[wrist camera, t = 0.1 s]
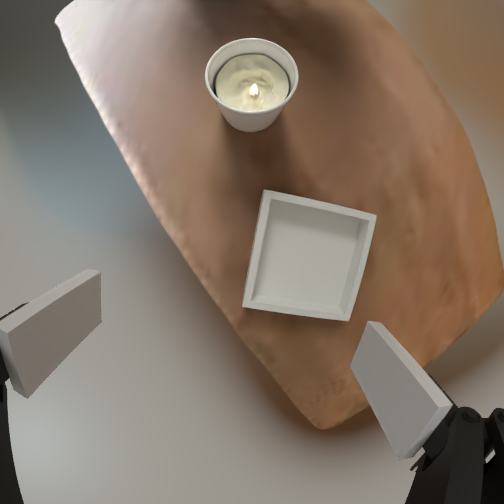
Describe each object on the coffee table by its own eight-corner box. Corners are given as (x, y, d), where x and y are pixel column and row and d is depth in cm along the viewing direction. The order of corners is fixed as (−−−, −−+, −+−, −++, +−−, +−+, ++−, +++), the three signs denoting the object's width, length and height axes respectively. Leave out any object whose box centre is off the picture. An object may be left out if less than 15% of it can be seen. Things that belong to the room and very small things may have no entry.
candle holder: (261, 150, 37) (268, 130, 25) (203, 117, 36) (186, 88, 24) (296, 98, 35) (314, 64, 23) (239, 67, 34) (237, 26, 22)
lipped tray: (262, 190, 38) (264, 189, 34) (365, 213, 39) (376, 215, 35) (242, 296, 41) (242, 306, 37) (340, 310, 42) (348, 321, 38)
